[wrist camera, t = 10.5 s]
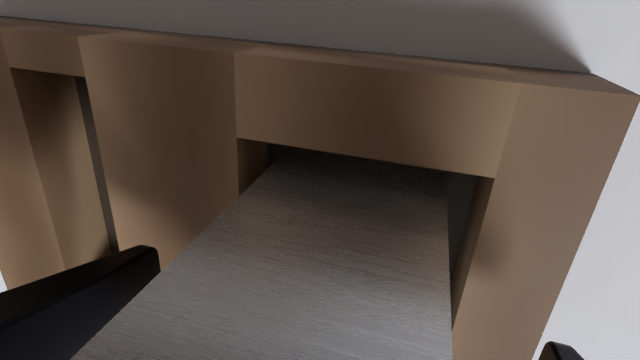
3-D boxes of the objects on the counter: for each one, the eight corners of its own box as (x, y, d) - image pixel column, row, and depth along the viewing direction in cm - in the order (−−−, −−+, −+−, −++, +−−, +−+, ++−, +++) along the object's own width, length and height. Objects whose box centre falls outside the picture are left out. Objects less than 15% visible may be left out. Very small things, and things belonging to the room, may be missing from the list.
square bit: (286, 269, 13) (120, 557, 6) (289, 147, 12) (57, 371, 5) (418, 299, 12) (391, 680, 5) (445, 172, 11) (457, 507, 4)
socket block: (63, 257, 17) (9, 294, 15) (-3, 15, 13) (-92, 18, 11) (488, 368, 13) (498, 439, 11) (593, 73, 9) (641, 96, 7)
